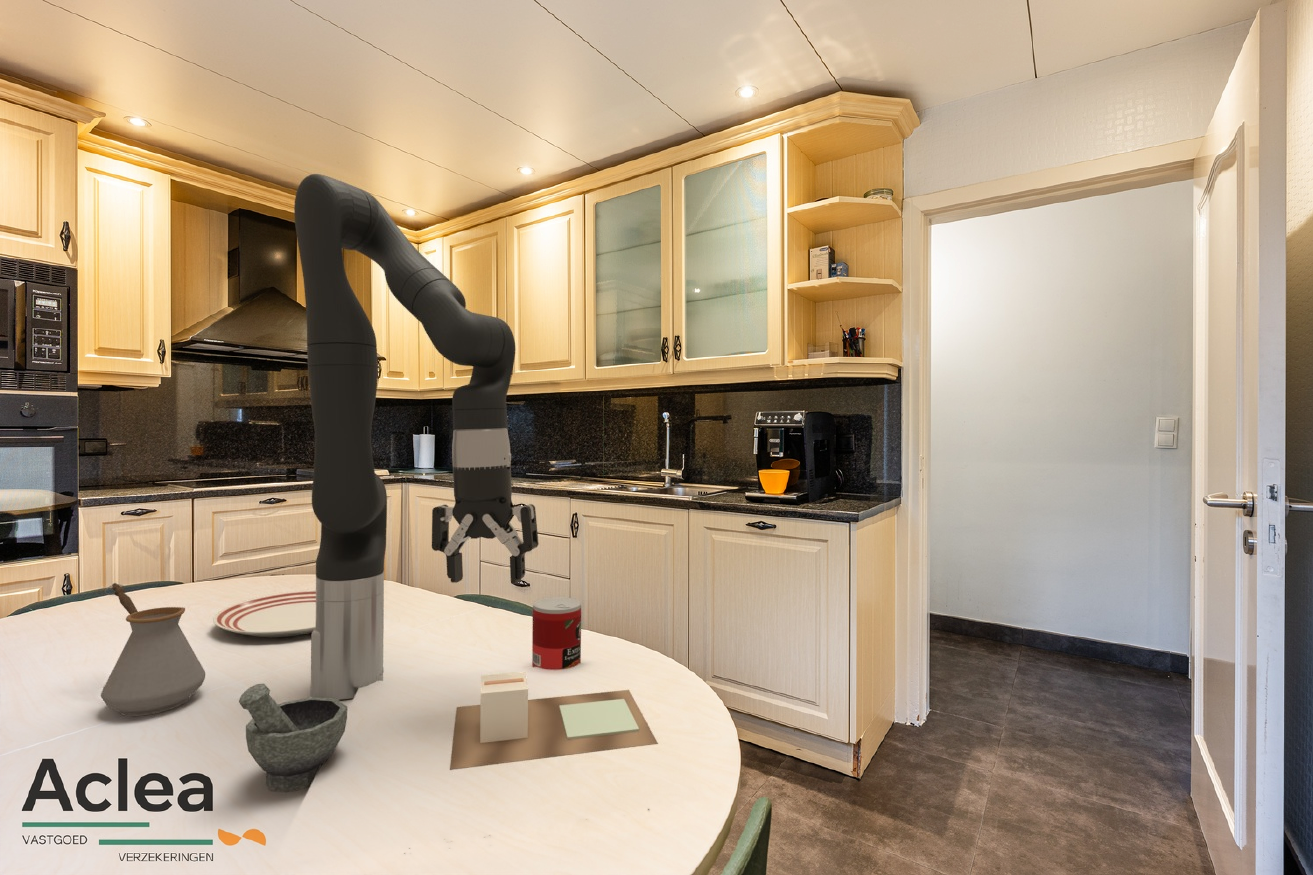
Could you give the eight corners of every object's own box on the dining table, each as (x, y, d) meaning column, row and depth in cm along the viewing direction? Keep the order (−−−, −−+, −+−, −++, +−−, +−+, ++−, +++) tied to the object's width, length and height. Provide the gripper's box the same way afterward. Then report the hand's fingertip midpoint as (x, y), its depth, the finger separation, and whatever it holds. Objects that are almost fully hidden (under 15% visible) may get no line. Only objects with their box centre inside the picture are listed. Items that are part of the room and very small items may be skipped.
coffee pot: (220, 698, 89) (221, 595, 89) (119, 731, 80) (119, 614, 79) (158, 667, 101) (158, 575, 100) (63, 692, 91) (63, 590, 91)
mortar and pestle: (309, 746, 76) (310, 649, 76) (364, 764, 72) (365, 662, 72) (212, 795, 66) (213, 683, 66) (270, 819, 62) (271, 700, 62)
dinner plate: (399, 617, 129) (399, 601, 129) (257, 657, 106) (257, 638, 106) (325, 597, 144) (325, 583, 144) (186, 628, 121) (186, 611, 121)
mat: (567, 739, 76) (567, 737, 76) (559, 707, 84) (559, 705, 84) (639, 731, 78) (639, 728, 78) (623, 700, 87) (623, 698, 87)
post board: (449, 782, 69) (450, 729, 69) (456, 717, 84) (456, 673, 84) (657, 755, 75) (658, 706, 75) (628, 699, 91) (629, 659, 91)
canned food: (571, 681, 97) (572, 611, 97) (524, 676, 99) (524, 607, 99) (587, 663, 105) (587, 598, 105) (542, 659, 106) (543, 595, 106)
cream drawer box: (480, 742, 75) (480, 692, 75) (480, 721, 80) (481, 674, 80) (527, 737, 76) (528, 687, 76) (524, 716, 82) (525, 670, 82)
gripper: (418, 466, 81) (423, 588, 82) (522, 464, 79) (526, 590, 79) (446, 461, 88) (450, 574, 89) (541, 459, 86) (546, 575, 87)
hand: (486, 581), depth 84 cm, fingers open, 8 cm apart
